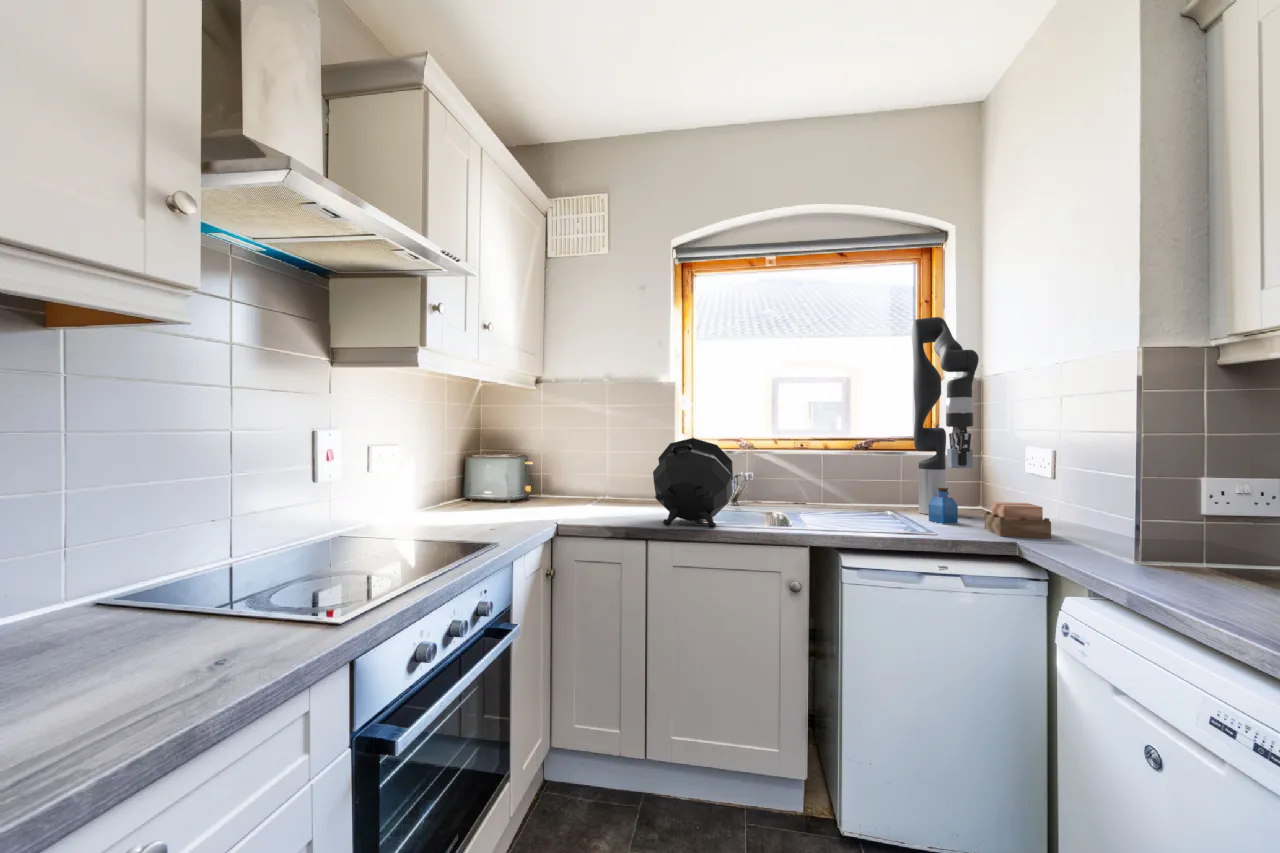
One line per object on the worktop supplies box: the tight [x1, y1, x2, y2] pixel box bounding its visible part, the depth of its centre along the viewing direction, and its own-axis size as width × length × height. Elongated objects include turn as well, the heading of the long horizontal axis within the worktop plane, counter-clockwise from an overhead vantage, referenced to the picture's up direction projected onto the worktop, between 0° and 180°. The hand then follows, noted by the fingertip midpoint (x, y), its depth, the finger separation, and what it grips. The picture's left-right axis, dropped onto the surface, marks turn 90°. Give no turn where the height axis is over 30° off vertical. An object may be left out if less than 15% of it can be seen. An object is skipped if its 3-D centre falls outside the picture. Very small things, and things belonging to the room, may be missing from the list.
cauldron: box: [652, 437, 734, 529], centre depth 179 cm, size 28×28×24 cm
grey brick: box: [946, 448, 974, 469], centre depth 170 cm, size 4×6×6 cm
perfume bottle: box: [928, 487, 959, 525], centre depth 185 cm, size 6×6×12 cm
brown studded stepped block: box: [983, 501, 1052, 540], centre depth 163 cm, size 13×13×9 cm
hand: (959, 464), depth 170 cm, fingers closed on grey brick, 4 cm apart
